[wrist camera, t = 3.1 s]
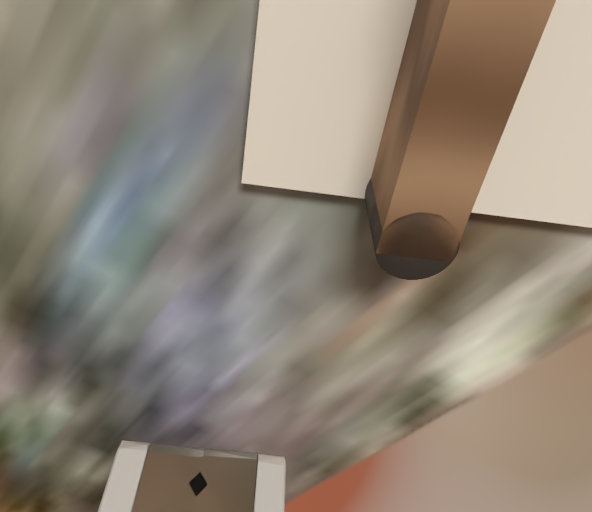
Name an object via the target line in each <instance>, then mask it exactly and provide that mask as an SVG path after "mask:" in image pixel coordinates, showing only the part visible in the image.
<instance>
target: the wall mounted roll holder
mask: <svg viewBox="0 0 592 512" xmlns="http://www.w3.org/2000/svg"><path fill="white" fill-rule="evenodd" d="M416 3H417V0H260V2H259V12H258V22H257V32H256V42H255V52H254V62H253V72H252V82H251V92H250V102H249V112H248V122H247V132H246V142H245V152H244V162H243V172H242V182H241V183H245V184H253V185H260V186H268V187H276V188H284V189H292V190H300V191H307V192H315V193H323V194H331V195H339V196H347V197H354V198H362V199H365V191H366V187H367V184H368V182H369V180H370V179H371V176H372V172H373V168H374V164H375V160H376V157H377V153H378V149H379V145H380V141H381V137H382V134H383V130H384V126H385V122H386V118H387V114H388V110H389V107H390V103H391V99H392V95H393V91H394V87H395V83H396V80H397V76H398V72H399V68H400V64H401V60H402V56H403V53H404V49H405V45H406V41H407V37H408V33H409V29H410V26H411V22H412V18H413V14H414V10H415V6H416ZM471 212H472V213H480V214H488V215H495V216H503V217H511V218H519V219H527V220H535V221H542V222H550V223H558V224H566V225H574V226H582V227H589V228H592V0H556V2H555V4H554V7H553V9H552V12H551V14H550V17H549V19H548V22H547V24H546V27H545V29H544V32H543V34H542V37H541V39H540V42H539V44H538V47H537V49H536V52H535V54H534V57H533V59H532V62H531V64H530V67H529V69H528V72H527V74H526V77H525V79H524V82H523V84H522V86H521V89H520V91H519V94H518V96H517V99H516V101H515V104H514V106H513V109H512V111H511V114H510V116H509V119H508V121H507V124H506V126H505V129H504V131H503V134H502V136H501V139H500V141H499V144H498V146H497V149H496V151H495V154H494V156H493V159H492V161H491V164H490V166H489V169H488V171H487V174H486V176H485V179H484V181H483V184H482V186H481V189H480V191H479V194H478V196H477V199H476V201H475V204H474V206H473V209H472V211H471Z"/></svg>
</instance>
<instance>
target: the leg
mask: <svg viewBox="0 0 592 512" xmlns="http://www.w3.org/2000/svg"><path fill="white" fill-rule="evenodd" d="M555 2H556V0H417V3H416V6H415V10H414V14H413V18H412V22H411V26H410V29H409V33H408V37H407V41H406V45H405V49H404V53H403V56H402V60H401V64H400V68H399V72H398V76H397V80H396V83H395V87H394V91H393V95H392V99H391V103H390V107H389V110H388V114H387V118H386V122H385V126H384V130H383V134H382V137H381V141H380V145H379V149H378V153H377V157H376V160H375V164H374V168H373V172H372V176H371V179H370V180H369V182H368V184H367V187H366V191H365V201H366V207H367V212H368V217H369V223H370V228H371V233H372V238H373V244H374V249H375V254H376V258H377V261H378V263H379V265H380V266H381V267H382V268H383V269H384V270H385V271H386V272H387V273H389V274H390V275H392V276H395V277H397V278H401V279H407V280H417V279H423V278H427V277H430V276H433V275H435V274H437V273H439V272H441V271H442V270H444V269H445V268H446V267H447V266H448V265H450V263H451V262H452V261H453V260H454V258H455V257H456V255H457V253H458V250H459V245H460V239H461V236H462V234H463V231H464V229H465V226H466V224H467V221H468V219H469V216H470V214H471V211H472V209H473V206H474V204H475V201H476V199H477V196H478V194H479V191H480V189H481V186H482V184H483V181H484V179H485V176H486V174H487V171H488V169H489V166H490V164H491V161H492V159H493V156H494V154H495V151H496V149H497V146H498V144H499V141H500V139H501V136H502V134H503V131H504V129H505V126H506V124H507V121H508V119H509V116H510V114H511V111H512V109H513V106H514V104H515V101H516V99H517V96H518V94H519V91H520V89H521V86H522V84H523V82H524V79H525V77H526V74H527V72H528V69H529V67H530V64H531V62H532V59H533V57H534V54H535V52H536V49H537V47H538V44H539V42H540V39H541V37H542V34H543V32H544V29H545V27H546V24H547V22H548V19H549V17H550V14H551V12H552V9H553V7H554V4H555Z"/></svg>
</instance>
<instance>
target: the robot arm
mask: <svg viewBox="0 0 592 512" xmlns="http://www.w3.org/2000/svg"><path fill="white" fill-rule="evenodd" d="M285 477H286V461H285V457H284V456H278V455H267V454H258V455H257V453H252V452H239V451H227V450H215V449H198V448H189V447H179V446H169V445H160V444H151V443H145V442H134V441H123V440H122V442H121V444H120V446H119V447H118V449H117V452H116V455H115V459H114V462H113V465H112V468H111V471H110V474H109V478H108V481H107V484H106V487H105V490H104V493H103V497H102V500H101V503H100V506H99V509H98V512H284V510H285Z"/></svg>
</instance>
